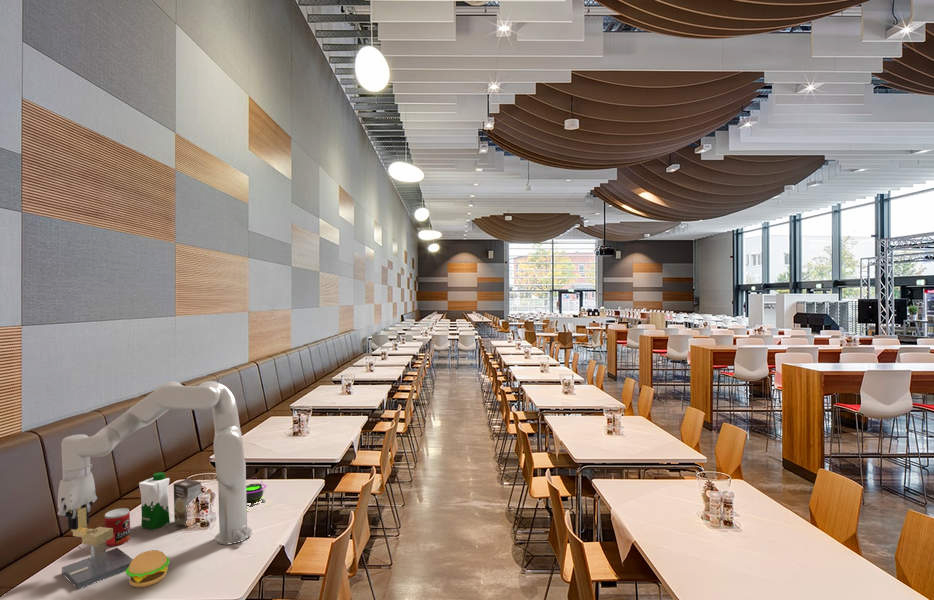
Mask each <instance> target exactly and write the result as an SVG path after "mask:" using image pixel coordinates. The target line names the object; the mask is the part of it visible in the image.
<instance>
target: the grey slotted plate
mask: <svg viewBox="0 0 934 600" xmlns="http://www.w3.org/2000/svg"><path fill="white" fill-rule="evenodd" d="M106 546H107V545H106V542H103V543H101V544H99V545H97V546H94V545H90V556H89V557H88V558H85V559H82V560H79V561H76V562H74V563H70V564H67V565H64V566H62V567H61V574H62V573H63V574H64V575H65V576H66V577H67V578H68V579H69V580H70V581H71V582H72V583H71V582H70V581H69V580H68V579H67V578H66V577H65V576H64V575H63V574H62V575H63V576H64V577H65V578H66V579H67V580H68V581H69V582H70V583H71V584H72V585H73V584H74V585H75V586H74V585H73V586H74V587H75V589H77V590H80V589H79V588H81V589H83V588H85V587H84V586H86V587H88V586H87V585H89V586H90V584H91V585H93V584H92V583H94V582H96V583H98V582H97V581H99V582H101V581H104V580H106V579H108V578H111V577H114V576H117V575H118V574H122V573H123V572H124V573H125V572H126V569H127V568H128V567H129V565H130V563H131V561H132V560H133V559H134V558H132V557H131V556H130V555H128V554H126V553H125V552H124V551H122V550H121V549H120V548H119V547H115V548H113V549H109V550H106V549H107V547H106ZM103 579H104V580H103ZM100 580H101V581H100ZM94 584H95V583H94ZM82 587H83V588H82Z"/></svg>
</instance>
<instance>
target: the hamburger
mask: <svg viewBox="0 0 934 600" xmlns="http://www.w3.org/2000/svg"><path fill="white" fill-rule="evenodd" d="M132 559H133V560H132V561H131V563H130V565H129V567H128V568H127V569H126V571H125V574H126V575H127V576H129V584H130V585H131V587H135V588H145V587H149V586H153V585H155V584H157V583H159V582H161V581H162V580H163V579H164V578H165V577H166V576H167V572H168V570H169V569H168V567H169V564H170V559H169V557H168V556H167V555H166V554H165V553H164V552H163V551H160V550H158V549H151V550H146V551H143V552H141V553H139V554H137V555H136V556H135V557H134V558H132Z"/></svg>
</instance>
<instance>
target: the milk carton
mask: <svg viewBox="0 0 934 600" xmlns="http://www.w3.org/2000/svg"><path fill="white" fill-rule="evenodd" d="M169 485H170V477H166V473H165V472H164V471H160V472H159V471H158V472H155V473H153V475H152V477H150V478H148V479H145V480H143V481H140V482H138V486H139V491H140V505H141V509H140V510H141V524H140V525H141V526H140V528H141V527H143V528H142V529H145V528H147V529H146V530H150V529H151V530H150V531H155V530H157V529H160V528H161V526H162V527H164V526H166V525H168V524H170V522H171V520H170V518H171V517H170V511H169V510H170V509H169ZM167 523H168V524H167ZM165 524H166V525H165ZM163 525H164V526H163ZM159 527H160V528H159ZM154 529H155V530H154Z"/></svg>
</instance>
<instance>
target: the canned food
mask: <svg viewBox="0 0 934 600" xmlns="http://www.w3.org/2000/svg"><path fill="white" fill-rule="evenodd" d="M130 513H131V512H130V509H129V508H126V507H125V508H124V507H122V508H115V509H112V510H110V511H107V512H106V513H105V514H104V527H105V528H113V538H111V539H109V540H107V541H105V546H107V547H108V546H109V547H116V545H117V546H120V545H124V544H125V542H126V543H127V542H129V541H128V540H131V518H130ZM123 543H124V544H123Z"/></svg>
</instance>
